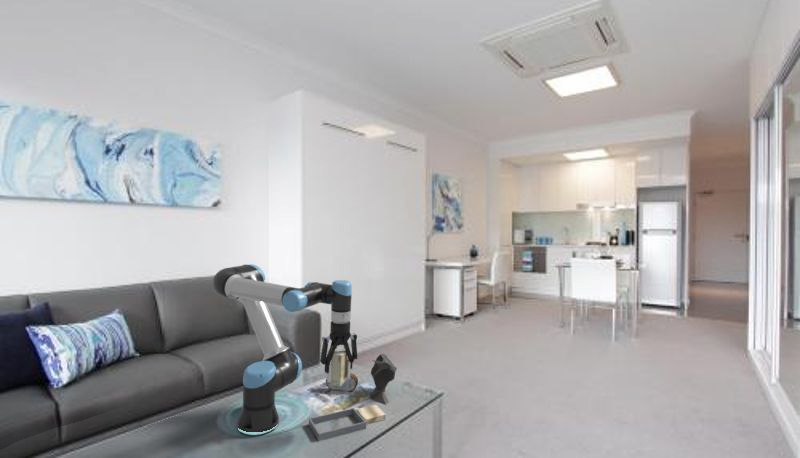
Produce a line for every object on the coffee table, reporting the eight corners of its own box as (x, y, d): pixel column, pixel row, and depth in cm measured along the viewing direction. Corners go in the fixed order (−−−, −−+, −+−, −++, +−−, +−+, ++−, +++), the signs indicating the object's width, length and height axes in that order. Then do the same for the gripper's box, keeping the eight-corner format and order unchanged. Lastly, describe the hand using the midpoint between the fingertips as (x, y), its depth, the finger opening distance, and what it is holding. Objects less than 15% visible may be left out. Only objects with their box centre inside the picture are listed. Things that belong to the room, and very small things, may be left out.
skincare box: (340, 387, 155) (341, 355, 154) (329, 385, 156) (330, 354, 155) (346, 380, 161) (347, 350, 160) (336, 378, 162) (337, 348, 161)
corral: (318, 440, 149) (318, 434, 149) (308, 424, 160) (308, 418, 160) (366, 428, 159) (366, 422, 159) (353, 413, 170) (353, 407, 169)
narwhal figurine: (403, 391, 192) (405, 354, 190) (385, 404, 178) (387, 364, 177) (378, 383, 199) (379, 347, 198) (359, 395, 186) (361, 356, 185)
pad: (365, 424, 162) (365, 419, 162) (356, 413, 169) (356, 409, 169) (385, 419, 166) (385, 414, 166) (375, 409, 174) (375, 404, 174)
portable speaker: (358, 390, 191) (358, 372, 190) (356, 393, 188) (357, 375, 187) (326, 387, 192) (327, 370, 192) (324, 390, 189) (325, 372, 189)
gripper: (318, 326, 149) (316, 387, 150) (368, 321, 159) (365, 378, 160) (312, 320, 155) (310, 379, 157) (360, 315, 165) (357, 370, 167)
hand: (338, 378), depth 158 cm, fingers closed on skincare box, 7 cm apart
